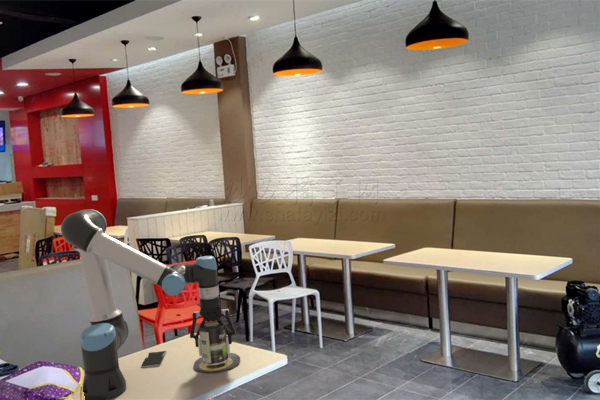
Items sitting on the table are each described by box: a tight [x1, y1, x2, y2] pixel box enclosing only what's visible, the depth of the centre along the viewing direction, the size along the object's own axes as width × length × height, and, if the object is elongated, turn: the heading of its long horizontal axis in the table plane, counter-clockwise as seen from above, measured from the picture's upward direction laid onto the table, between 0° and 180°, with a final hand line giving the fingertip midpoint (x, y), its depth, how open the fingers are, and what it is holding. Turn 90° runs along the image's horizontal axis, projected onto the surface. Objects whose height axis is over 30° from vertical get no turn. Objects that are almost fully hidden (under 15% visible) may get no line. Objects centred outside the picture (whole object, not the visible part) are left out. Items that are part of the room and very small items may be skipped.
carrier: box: [193, 352, 241, 374], centre depth 214 cm, size 18×19×12 cm
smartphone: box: [141, 350, 167, 369], centre depth 224 cm, size 8×1×15 cm
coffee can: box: [197, 321, 229, 366], centre depth 211 cm, size 10×10×14 cm
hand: (214, 353), depth 211 cm, fingers closed on coffee can, 10 cm apart
